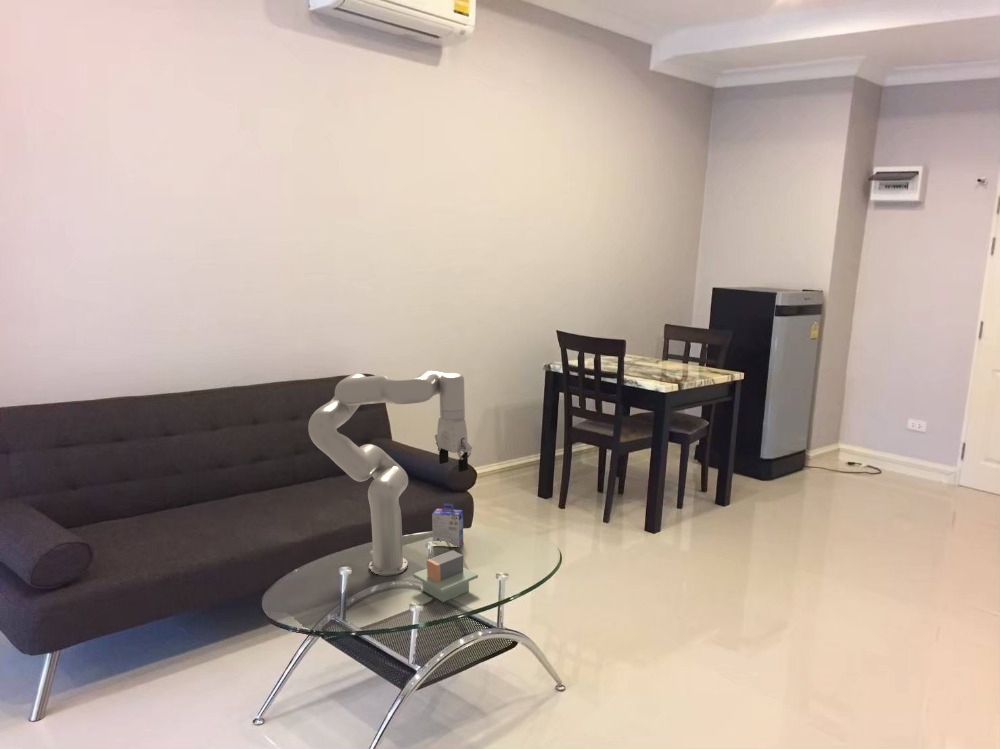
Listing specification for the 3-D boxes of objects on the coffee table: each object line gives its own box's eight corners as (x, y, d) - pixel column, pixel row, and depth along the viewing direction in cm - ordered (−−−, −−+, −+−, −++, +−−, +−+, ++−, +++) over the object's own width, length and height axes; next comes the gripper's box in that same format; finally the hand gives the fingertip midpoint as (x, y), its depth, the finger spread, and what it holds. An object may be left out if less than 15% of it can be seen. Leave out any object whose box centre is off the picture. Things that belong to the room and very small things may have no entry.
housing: (453, 566, 251) (452, 550, 250) (463, 571, 247) (462, 555, 246) (427, 576, 244) (426, 560, 243) (437, 582, 241) (437, 565, 239)
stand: (413, 590, 248) (413, 573, 246) (449, 575, 257) (449, 559, 255) (442, 607, 237) (441, 590, 236) (478, 591, 247) (477, 574, 245)
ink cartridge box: (464, 542, 280) (463, 503, 277) (460, 549, 275) (459, 509, 272) (436, 540, 282) (435, 501, 279) (432, 546, 277) (431, 507, 274)
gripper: (425, 410, 250) (427, 462, 254) (460, 422, 237) (461, 477, 241) (445, 405, 255) (446, 457, 259) (479, 417, 242) (480, 471, 246)
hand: (453, 466), depth 250 cm, fingers open, 9 cm apart
